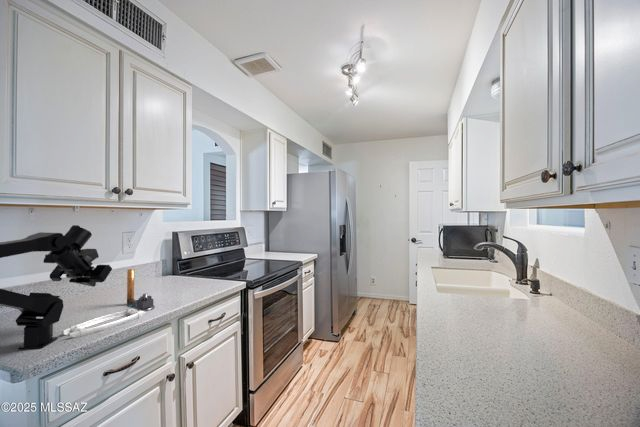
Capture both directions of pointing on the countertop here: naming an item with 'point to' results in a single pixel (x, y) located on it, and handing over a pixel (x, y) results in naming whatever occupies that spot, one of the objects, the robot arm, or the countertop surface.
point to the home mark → (131, 305)
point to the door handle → (82, 331)
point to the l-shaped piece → (130, 293)
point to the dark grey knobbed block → (145, 308)
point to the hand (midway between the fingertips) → (94, 285)
